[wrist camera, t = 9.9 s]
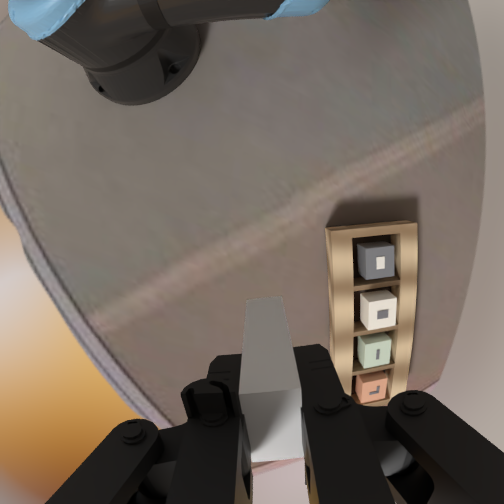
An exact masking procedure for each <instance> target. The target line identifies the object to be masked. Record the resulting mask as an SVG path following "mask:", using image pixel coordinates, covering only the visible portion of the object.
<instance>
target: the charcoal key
mask: <svg viewBox="0 0 504 504" xmlns="http://www.w3.org/2000/svg"><path fill="white" fill-rule="evenodd" d="M357 257H358V273H359V274H360V275H361V276H362V277H364V278H365V279H366V280H369V279H377V278H384V277H391V276H394V245H392V244H390V243H387V242H385V241H378V242H369V243H360V244H357Z"/></svg>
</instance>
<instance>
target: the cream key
mask: <svg viewBox="0 0 504 504" xmlns="http://www.w3.org/2000/svg"><path fill="white" fill-rule="evenodd" d="M396 305H397V298H396V297H395V296H394V295H393V294H392V293H391V292H389V291H388V290H387V289H386V290H379V291H373V292H366V293H360V320H361V322H362V323H363V324H364V326H365V327H366V328H367V330H374V329H380V328H385V327H390V326H395V323H396Z"/></svg>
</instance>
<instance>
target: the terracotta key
mask: <svg viewBox="0 0 504 504" xmlns="http://www.w3.org/2000/svg"><path fill="white" fill-rule="evenodd" d="M387 379H388V378H387V376H386V375H385V373H384V372H383V370H380V371H375V372H370V373H365V374H360V375H356V387H355V391H356V393H357V395H358V398H359V400H360V402H361V403H365V402H370V401H374V400H379V399H383V398H385V394H386V387H387Z"/></svg>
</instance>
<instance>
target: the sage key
mask: <svg viewBox="0 0 504 504" xmlns="http://www.w3.org/2000/svg"><path fill="white" fill-rule="evenodd" d="M390 351H391V339H390V337H389V336H388V335H387V334H386V333H385V331H384V332H378V333H373V334H367V335H361V336H358V349H357V357H358V359H359V361H360V362H361V364H362V366H363V368H369V367H374V366H379V365H384V364H389V361H390Z"/></svg>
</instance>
